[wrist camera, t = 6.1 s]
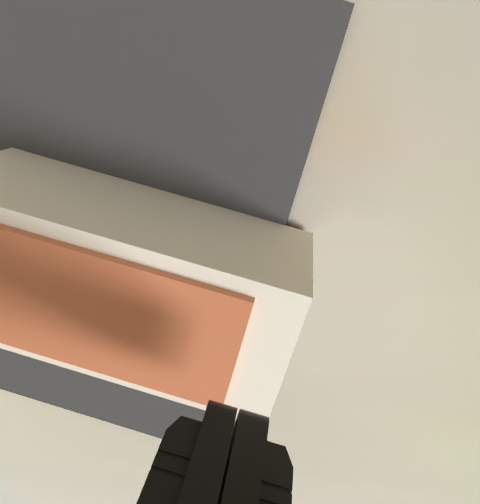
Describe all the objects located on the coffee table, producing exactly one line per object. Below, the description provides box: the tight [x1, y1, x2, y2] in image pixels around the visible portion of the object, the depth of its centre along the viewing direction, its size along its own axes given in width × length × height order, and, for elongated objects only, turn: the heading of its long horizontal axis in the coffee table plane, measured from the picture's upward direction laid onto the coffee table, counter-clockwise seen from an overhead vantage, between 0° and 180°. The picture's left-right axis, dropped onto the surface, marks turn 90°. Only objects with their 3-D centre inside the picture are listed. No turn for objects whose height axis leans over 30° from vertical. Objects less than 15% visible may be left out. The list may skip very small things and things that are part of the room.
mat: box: [0, 0, 354, 439], centre depth 18 cm, size 20×12×1 cm, turn 166°
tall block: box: [0, 147, 313, 420], centre depth 16 cm, size 5×5×12 cm
